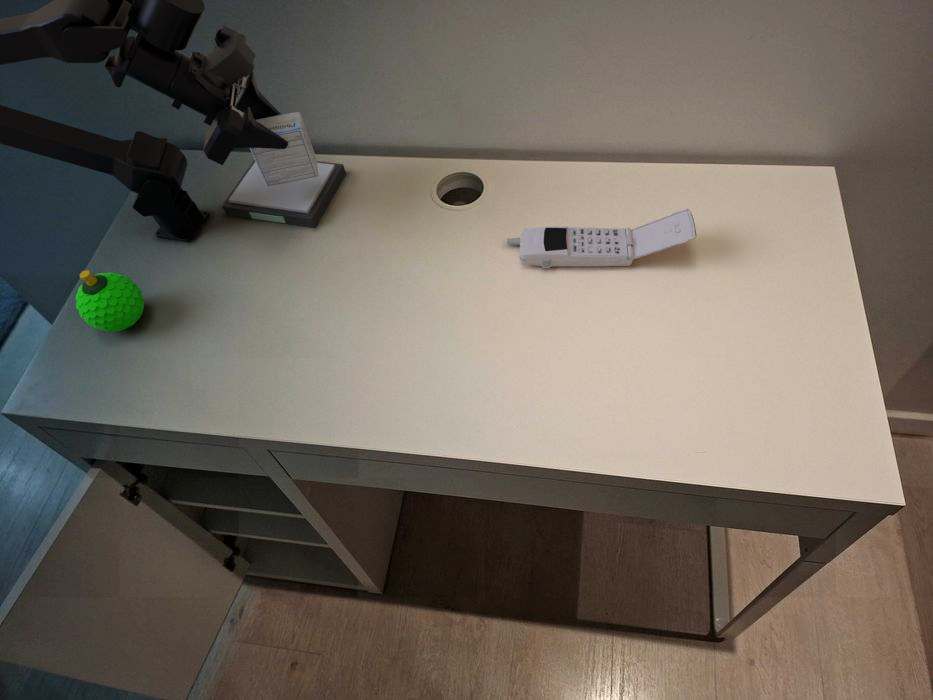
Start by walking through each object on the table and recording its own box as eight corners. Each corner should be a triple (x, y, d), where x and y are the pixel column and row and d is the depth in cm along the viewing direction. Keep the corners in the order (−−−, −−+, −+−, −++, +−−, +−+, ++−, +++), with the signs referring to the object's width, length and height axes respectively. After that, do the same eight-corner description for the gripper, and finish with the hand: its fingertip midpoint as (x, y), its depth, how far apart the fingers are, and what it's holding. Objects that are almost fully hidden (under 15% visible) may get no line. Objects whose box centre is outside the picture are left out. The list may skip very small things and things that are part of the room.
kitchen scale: (225, 216, 96) (219, 204, 94) (262, 163, 103) (256, 151, 101) (314, 229, 93) (309, 216, 91) (346, 173, 100) (342, 161, 98)
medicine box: (317, 160, 92) (300, 109, 85) (319, 178, 89) (301, 128, 82) (266, 169, 91) (245, 120, 84) (267, 188, 89) (244, 139, 82)
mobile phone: (698, 238, 77) (504, 239, 80) (688, 270, 82) (506, 270, 84) (692, 207, 80) (506, 209, 83) (682, 239, 85) (507, 239, 88)
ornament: (88, 325, 86) (41, 279, 78) (136, 289, 89) (96, 242, 81) (118, 352, 82) (72, 308, 74) (166, 314, 86) (127, 268, 77)
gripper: (188, 63, 66) (315, 135, 75) (206, -15, 76) (316, 56, 86) (153, 135, 72) (274, 193, 81) (174, 54, 83) (279, 113, 92)
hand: (287, 135), depth 85 cm, fingers closed on medicine box, 4 cm apart
